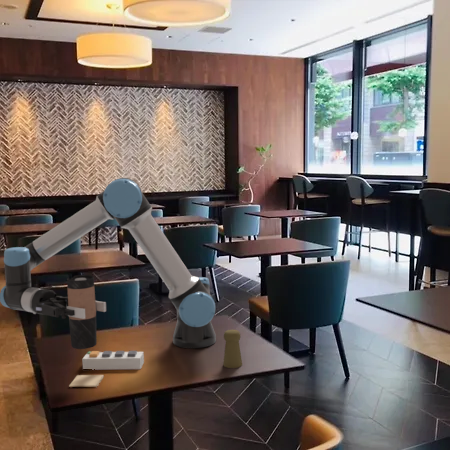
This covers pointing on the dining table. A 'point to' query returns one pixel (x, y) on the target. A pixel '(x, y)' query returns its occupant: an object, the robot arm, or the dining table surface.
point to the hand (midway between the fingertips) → (94, 310)
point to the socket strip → (113, 360)
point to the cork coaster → (86, 381)
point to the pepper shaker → (232, 349)
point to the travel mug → (85, 298)
